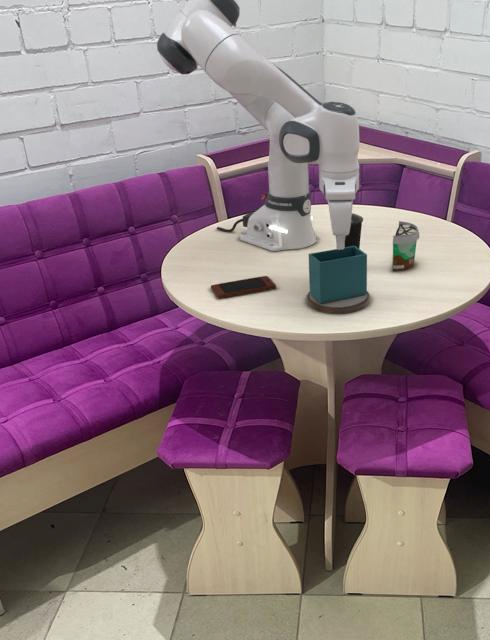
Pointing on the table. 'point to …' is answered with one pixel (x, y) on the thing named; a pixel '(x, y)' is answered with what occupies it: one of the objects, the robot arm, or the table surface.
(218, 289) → the smartphone
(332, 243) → the table surface
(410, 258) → the food container
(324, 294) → the bin
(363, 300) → the disc
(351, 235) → the drinking cup
